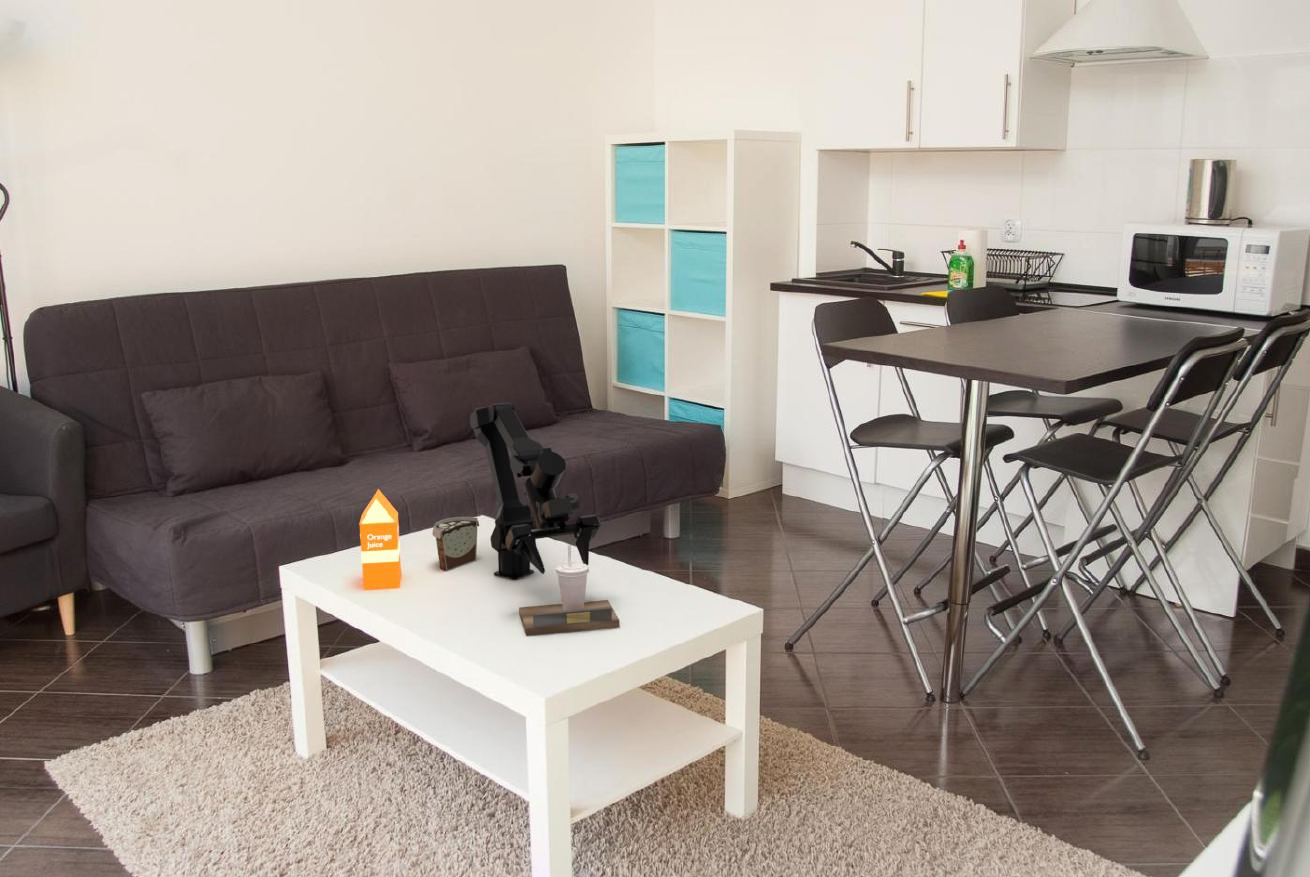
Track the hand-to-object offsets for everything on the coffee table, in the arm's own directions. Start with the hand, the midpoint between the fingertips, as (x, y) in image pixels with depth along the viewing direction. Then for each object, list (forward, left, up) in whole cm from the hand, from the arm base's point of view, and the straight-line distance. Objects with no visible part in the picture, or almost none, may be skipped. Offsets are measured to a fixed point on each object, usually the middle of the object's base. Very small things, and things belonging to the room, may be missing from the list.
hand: (565, 569), depth 229 cm
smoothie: (+3, -2, -8) cm, 9 cm away
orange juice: (-47, -6, -10) cm, 48 cm away
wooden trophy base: (+2, -2, -10) cm, 10 cm away
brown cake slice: (-44, +12, -10) cm, 46 cm away
